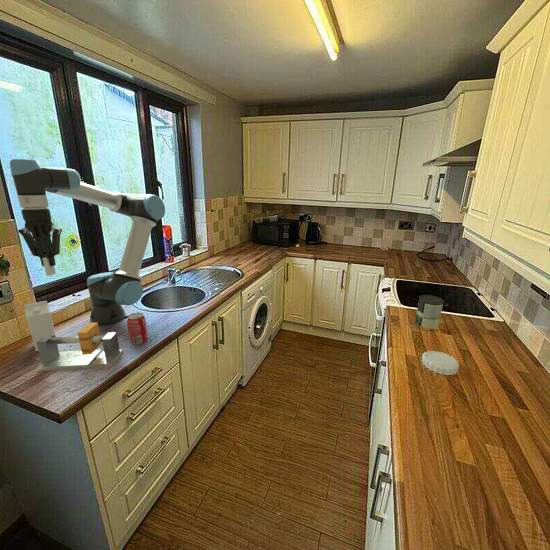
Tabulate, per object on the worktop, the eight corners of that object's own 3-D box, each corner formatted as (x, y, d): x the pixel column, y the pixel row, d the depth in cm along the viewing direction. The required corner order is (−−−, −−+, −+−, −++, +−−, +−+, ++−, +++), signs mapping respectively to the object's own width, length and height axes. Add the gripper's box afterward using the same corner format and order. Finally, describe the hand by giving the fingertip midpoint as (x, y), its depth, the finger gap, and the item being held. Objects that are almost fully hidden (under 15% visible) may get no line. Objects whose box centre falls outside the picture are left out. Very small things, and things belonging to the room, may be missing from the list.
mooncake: (454, 361, 109) (455, 353, 108) (460, 380, 99) (462, 371, 98) (419, 354, 113) (420, 346, 112) (422, 372, 103) (424, 363, 102)
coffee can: (410, 324, 138) (414, 297, 134) (421, 319, 144) (426, 293, 140) (431, 333, 130) (436, 304, 126) (442, 327, 136) (448, 299, 131)
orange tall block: (82, 354, 102) (77, 332, 100) (93, 343, 110) (89, 322, 107) (91, 354, 103) (86, 332, 100) (101, 342, 110) (97, 322, 107)
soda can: (143, 335, 126) (139, 310, 122) (151, 340, 122) (148, 315, 118) (127, 341, 121) (122, 316, 117) (135, 347, 116) (130, 321, 113)
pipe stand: (38, 370, 101) (31, 345, 98) (56, 355, 111) (50, 331, 108) (111, 367, 104) (107, 342, 101) (123, 351, 113) (119, 328, 110)
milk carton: (35, 344, 118) (23, 302, 112) (56, 339, 122) (46, 298, 117) (35, 351, 113) (23, 308, 107) (57, 345, 117) (47, 303, 112)
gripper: (5, 209, 92) (24, 278, 99) (48, 209, 94) (64, 277, 101) (22, 207, 99) (38, 272, 106) (62, 207, 101) (76, 271, 108)
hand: (51, 274), depth 104 cm, fingers closed
